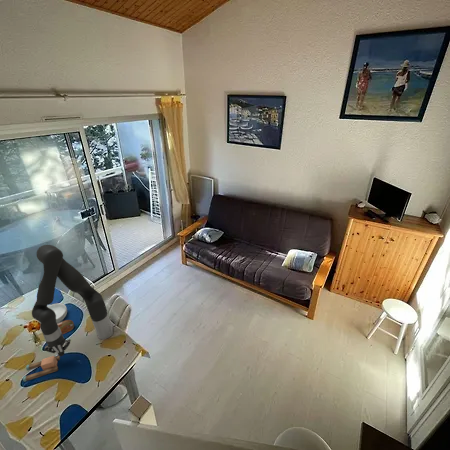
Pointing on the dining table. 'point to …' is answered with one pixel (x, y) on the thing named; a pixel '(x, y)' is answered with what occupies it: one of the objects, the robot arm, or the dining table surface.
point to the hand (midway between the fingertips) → (62, 354)
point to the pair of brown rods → (39, 372)
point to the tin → (66, 326)
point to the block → (49, 363)
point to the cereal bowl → (59, 311)
